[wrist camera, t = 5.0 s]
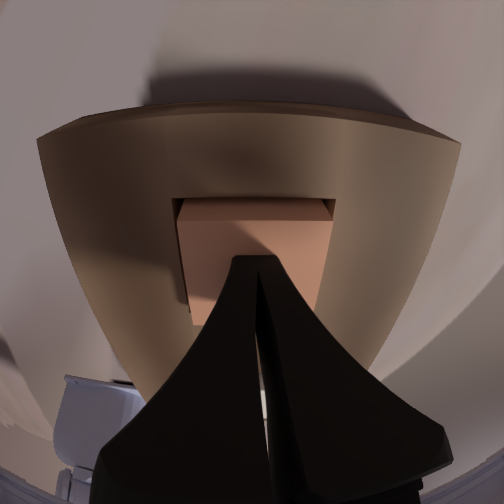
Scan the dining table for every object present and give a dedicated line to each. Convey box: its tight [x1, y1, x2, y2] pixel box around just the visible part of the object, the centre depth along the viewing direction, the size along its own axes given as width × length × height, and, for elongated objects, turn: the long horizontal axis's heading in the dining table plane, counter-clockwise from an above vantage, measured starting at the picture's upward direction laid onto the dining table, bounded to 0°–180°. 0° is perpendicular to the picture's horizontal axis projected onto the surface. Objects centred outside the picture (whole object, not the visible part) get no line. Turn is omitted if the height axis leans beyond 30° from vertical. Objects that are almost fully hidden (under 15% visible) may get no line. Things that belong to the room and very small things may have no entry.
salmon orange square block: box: [177, 197, 334, 325], centre depth 10 cm, size 4×4×3 cm
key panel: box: [37, 100, 461, 421], centre depth 14 cm, size 14×20×3 cm
